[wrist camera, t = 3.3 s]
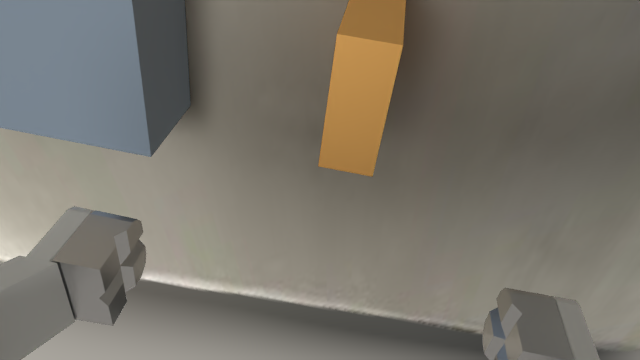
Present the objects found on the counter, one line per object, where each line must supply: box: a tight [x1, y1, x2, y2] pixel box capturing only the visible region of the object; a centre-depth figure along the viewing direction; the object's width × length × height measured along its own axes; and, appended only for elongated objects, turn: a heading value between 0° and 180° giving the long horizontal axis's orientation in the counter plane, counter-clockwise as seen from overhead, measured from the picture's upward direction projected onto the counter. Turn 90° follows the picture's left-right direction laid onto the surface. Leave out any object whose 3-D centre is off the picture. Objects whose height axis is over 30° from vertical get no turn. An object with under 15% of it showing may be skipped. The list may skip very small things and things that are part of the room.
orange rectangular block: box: [318, 0, 406, 177], centre depth 19 cm, size 5×2×8 cm, turn 173°
